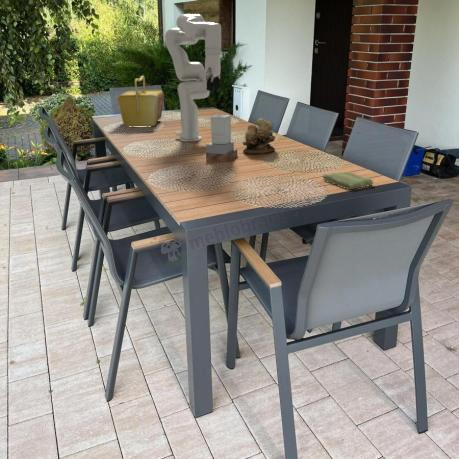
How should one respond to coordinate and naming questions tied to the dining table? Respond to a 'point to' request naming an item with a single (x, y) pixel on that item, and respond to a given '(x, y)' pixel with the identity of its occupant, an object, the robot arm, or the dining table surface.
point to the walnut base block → (222, 156)
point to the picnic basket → (140, 106)
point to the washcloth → (347, 180)
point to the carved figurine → (259, 138)
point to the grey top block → (219, 148)
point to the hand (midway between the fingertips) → (213, 89)
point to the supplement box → (221, 129)
